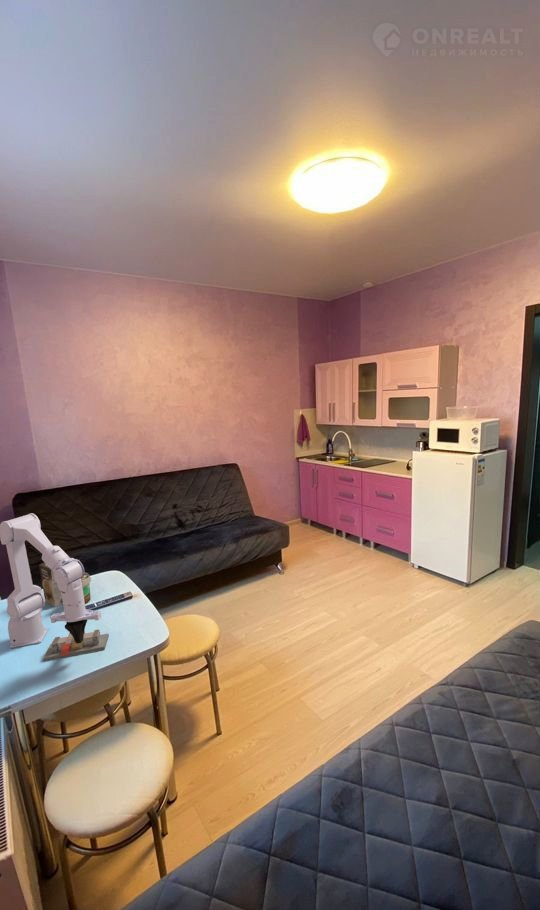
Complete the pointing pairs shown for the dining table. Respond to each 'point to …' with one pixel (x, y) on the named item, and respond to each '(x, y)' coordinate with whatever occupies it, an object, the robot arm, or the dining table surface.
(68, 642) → the valve lever
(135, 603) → the dining table surface
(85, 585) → the food container
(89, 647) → the board
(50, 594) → the coffee box
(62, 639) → the pipe and valve
